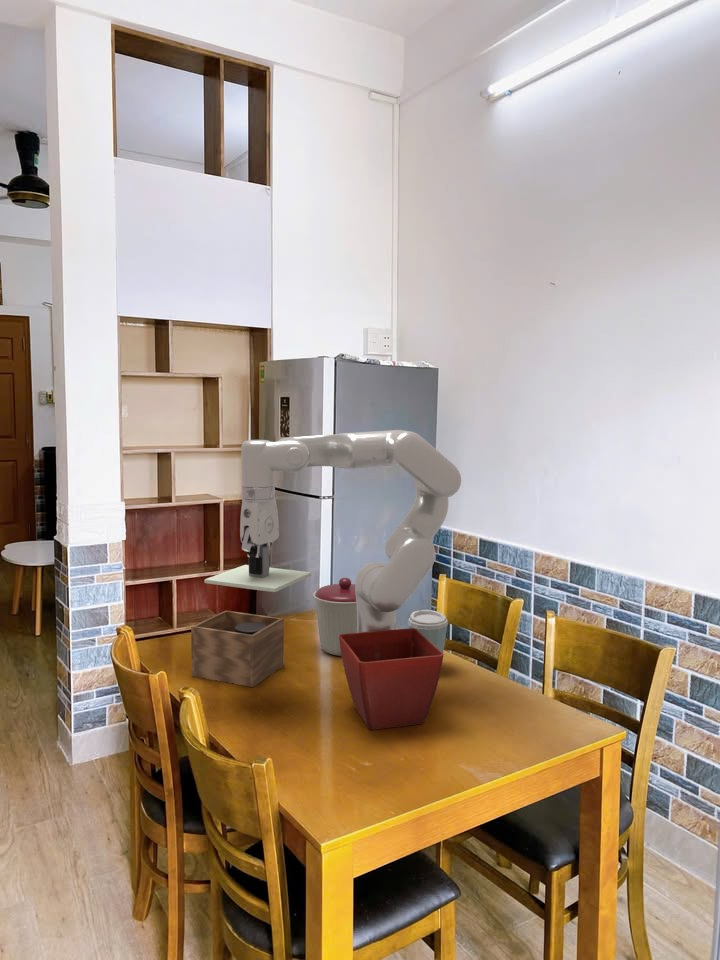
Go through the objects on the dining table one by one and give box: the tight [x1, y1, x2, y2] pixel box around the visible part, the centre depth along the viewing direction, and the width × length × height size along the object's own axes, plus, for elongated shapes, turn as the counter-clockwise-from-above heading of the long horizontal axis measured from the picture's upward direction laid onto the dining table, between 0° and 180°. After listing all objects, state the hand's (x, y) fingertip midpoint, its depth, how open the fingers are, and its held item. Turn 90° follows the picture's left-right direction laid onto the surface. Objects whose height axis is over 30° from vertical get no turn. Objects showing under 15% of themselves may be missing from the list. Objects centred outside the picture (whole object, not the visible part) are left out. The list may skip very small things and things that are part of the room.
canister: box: [312, 577, 357, 657], centre depth 205 cm, size 18×18×21 cm
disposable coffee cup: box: [407, 609, 449, 654], centre depth 191 cm, size 11×11×15 cm
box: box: [190, 610, 285, 688], centre depth 188 cm, size 18×16×13 cm
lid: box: [203, 545, 312, 593], centre depth 167 cm, size 19×17×8 cm
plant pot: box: [339, 627, 445, 730], centre depth 162 cm, size 19×19×17 cm
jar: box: [235, 622, 266, 635], centre depth 188 cm, size 9×8×12 cm
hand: (259, 571), depth 168 cm, fingers closed on lid, 2 cm apart
